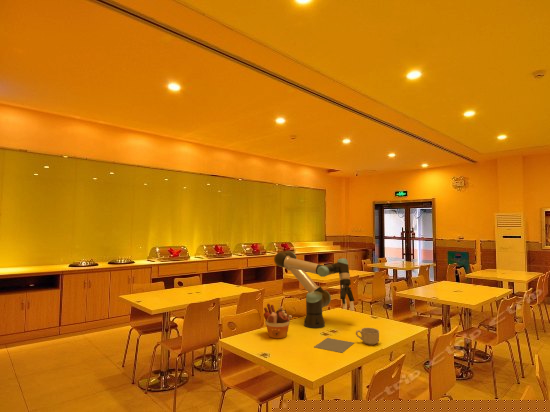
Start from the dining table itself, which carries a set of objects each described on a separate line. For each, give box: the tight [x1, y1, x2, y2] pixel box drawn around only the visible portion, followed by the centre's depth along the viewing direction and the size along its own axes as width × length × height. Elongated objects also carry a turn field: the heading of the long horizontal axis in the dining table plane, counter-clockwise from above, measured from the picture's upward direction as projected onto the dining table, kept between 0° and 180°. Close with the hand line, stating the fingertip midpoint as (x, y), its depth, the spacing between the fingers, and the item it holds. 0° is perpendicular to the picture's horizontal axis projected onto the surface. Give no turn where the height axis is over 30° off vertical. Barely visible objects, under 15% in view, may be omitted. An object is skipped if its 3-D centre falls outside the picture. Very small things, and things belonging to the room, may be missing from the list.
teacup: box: [355, 327, 380, 346], centre depth 207 cm, size 14×11×8 cm
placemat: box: [313, 337, 355, 354], centre depth 204 cm, size 18×20×1 cm
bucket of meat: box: [263, 303, 293, 340], centre depth 223 cm, size 20×16×20 cm
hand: (348, 309), depth 238 cm, fingers open, 13 cm apart
